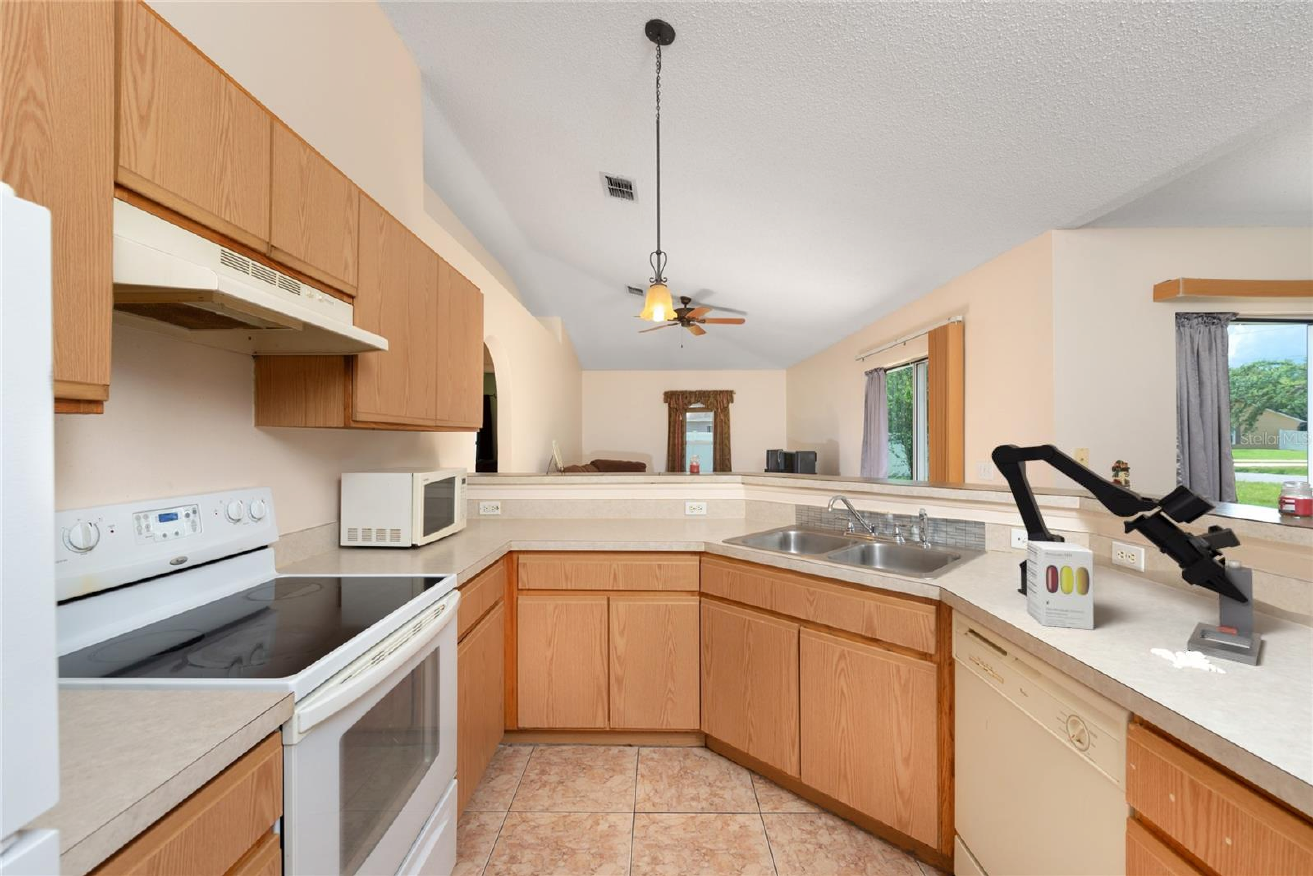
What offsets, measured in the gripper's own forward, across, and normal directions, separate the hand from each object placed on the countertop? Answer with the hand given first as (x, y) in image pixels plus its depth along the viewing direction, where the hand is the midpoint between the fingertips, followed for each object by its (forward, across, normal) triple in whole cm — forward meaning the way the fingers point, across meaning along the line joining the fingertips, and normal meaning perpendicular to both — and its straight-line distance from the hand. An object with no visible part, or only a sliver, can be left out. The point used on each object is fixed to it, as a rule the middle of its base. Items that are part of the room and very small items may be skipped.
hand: (1245, 598), depth 103 cm
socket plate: (+3, -12, +7) cm, 14 cm away
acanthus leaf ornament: (0, -26, +11) cm, 29 cm away
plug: (+4, 0, +6) cm, 7 cm away
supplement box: (-14, -17, +25) cm, 33 cm away
